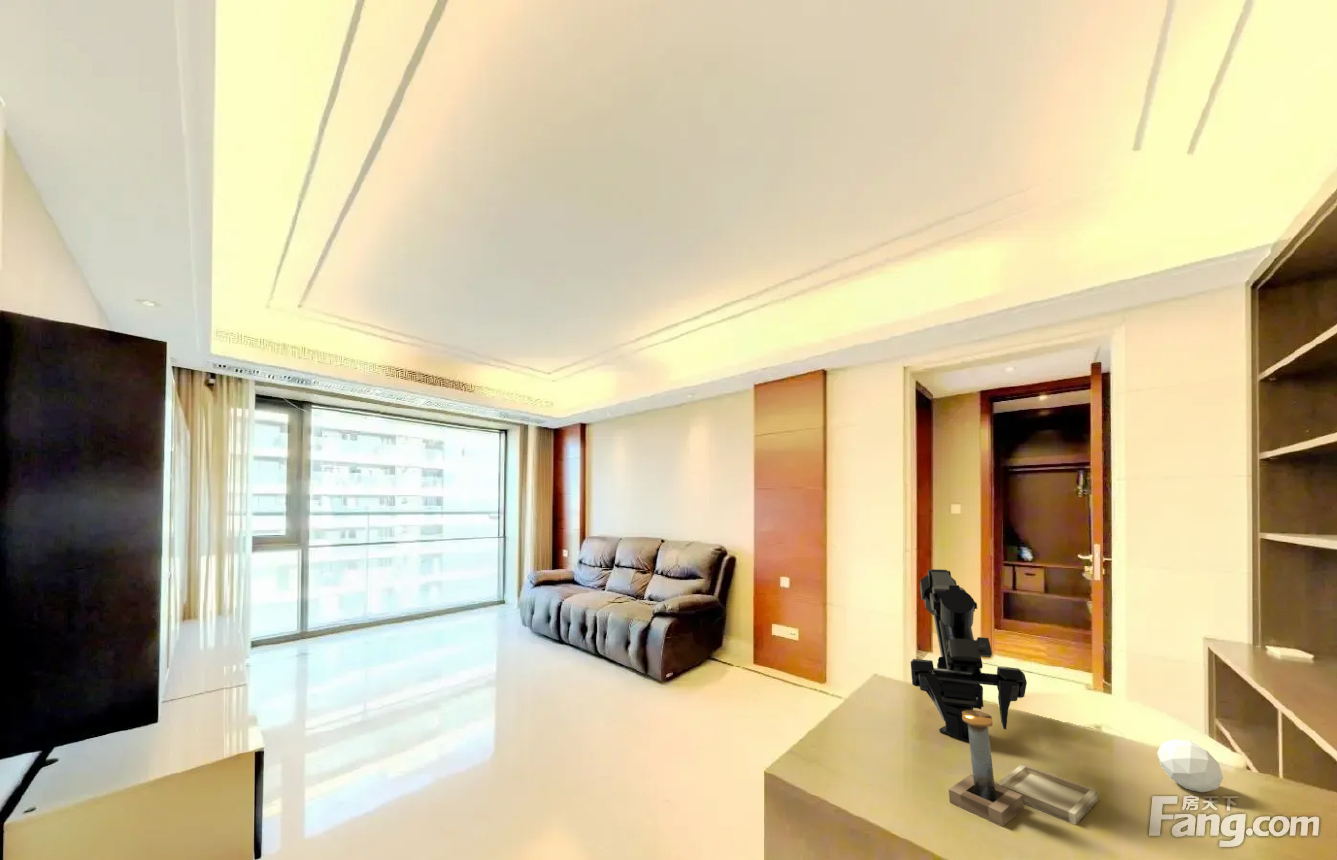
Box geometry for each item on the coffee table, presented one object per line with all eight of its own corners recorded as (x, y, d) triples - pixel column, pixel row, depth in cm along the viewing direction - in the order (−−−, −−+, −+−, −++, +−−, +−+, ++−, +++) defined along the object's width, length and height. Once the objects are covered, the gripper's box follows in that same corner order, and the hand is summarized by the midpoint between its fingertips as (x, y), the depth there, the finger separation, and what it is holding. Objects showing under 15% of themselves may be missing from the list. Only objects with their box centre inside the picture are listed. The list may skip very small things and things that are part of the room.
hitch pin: (978, 795, 85) (968, 708, 87) (1006, 807, 81) (996, 716, 84) (966, 804, 82) (956, 714, 85) (995, 817, 79) (984, 723, 81)
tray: (1023, 772, 92) (1022, 763, 92) (1098, 800, 83) (1097, 790, 83) (997, 792, 85) (996, 783, 86) (1076, 825, 76) (1074, 814, 77)
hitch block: (972, 786, 87) (970, 774, 88) (1023, 808, 81) (1022, 795, 81) (949, 802, 83) (948, 789, 83) (1003, 826, 76) (1001, 812, 77)
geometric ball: (1181, 798, 87) (1156, 747, 93) (1241, 798, 82) (1212, 743, 88) (1164, 787, 85) (1140, 734, 90) (1226, 785, 80) (1197, 730, 85)
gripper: (906, 616, 99) (915, 694, 87) (1016, 623, 91) (1043, 709, 80) (908, 647, 104) (916, 724, 93) (1012, 656, 97) (1035, 741, 85)
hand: (974, 724), depth 87 cm, fingers open, 9 cm apart
